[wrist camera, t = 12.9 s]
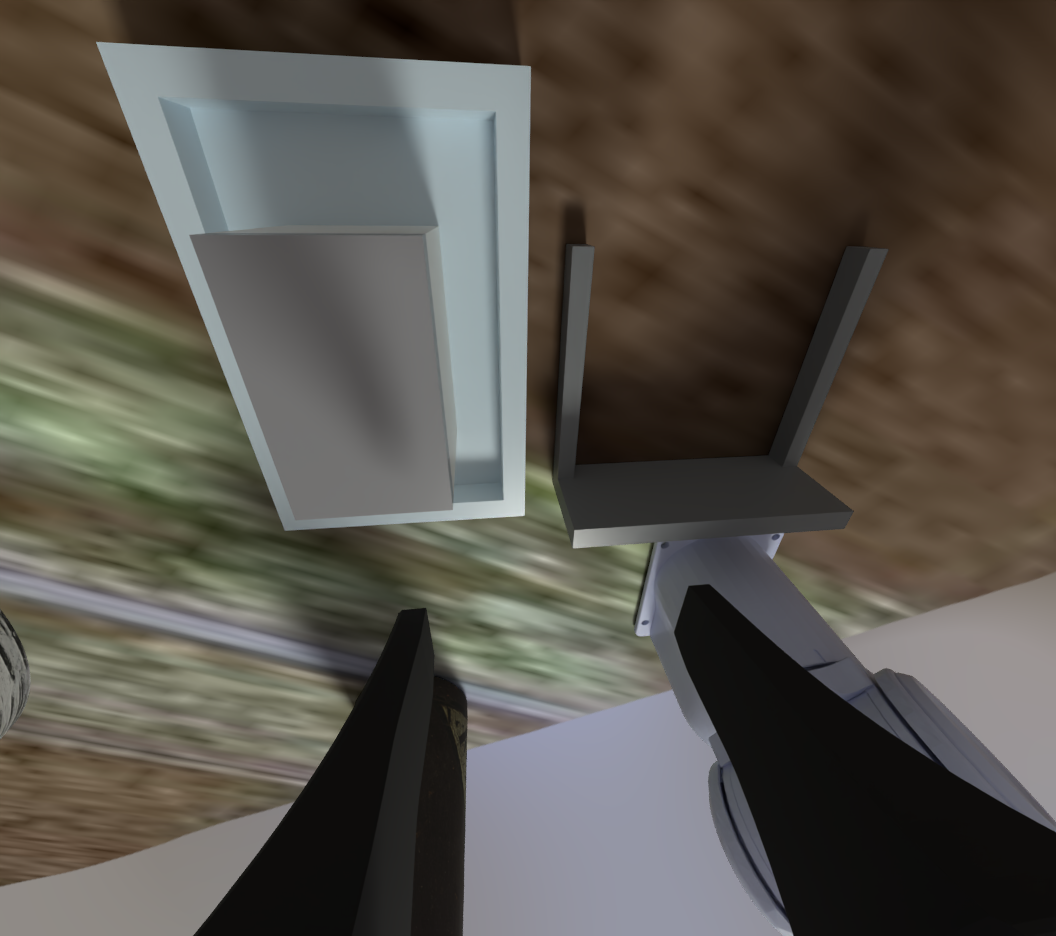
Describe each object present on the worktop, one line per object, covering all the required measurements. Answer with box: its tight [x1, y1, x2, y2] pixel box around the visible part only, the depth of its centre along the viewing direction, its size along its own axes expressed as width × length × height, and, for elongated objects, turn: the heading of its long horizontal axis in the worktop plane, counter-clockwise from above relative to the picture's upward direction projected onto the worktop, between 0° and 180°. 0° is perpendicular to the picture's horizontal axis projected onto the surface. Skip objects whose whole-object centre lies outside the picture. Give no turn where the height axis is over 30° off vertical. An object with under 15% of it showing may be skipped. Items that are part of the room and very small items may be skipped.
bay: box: [553, 244, 889, 548], centre depth 17 cm, size 11×13×5 cm
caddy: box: [189, 225, 457, 520], centre depth 14 cm, size 8×5×6 cm, turn 179°
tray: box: [96, 42, 531, 531], centre depth 16 cm, size 16×11×2 cm
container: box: [355, 677, 467, 936], centre depth 23 cm, size 9×9×20 cm
